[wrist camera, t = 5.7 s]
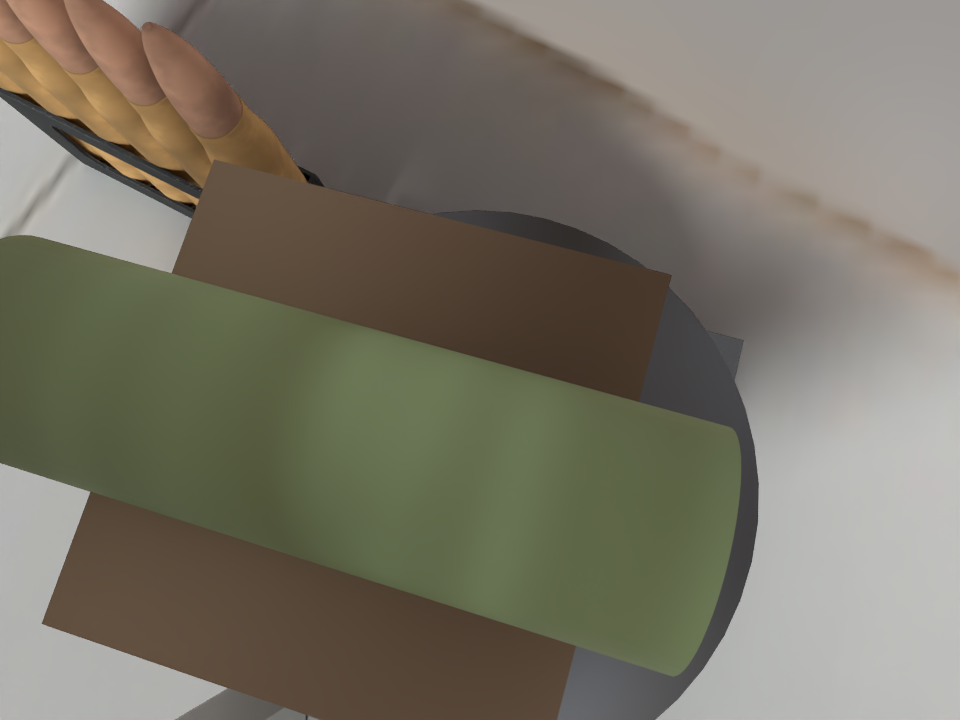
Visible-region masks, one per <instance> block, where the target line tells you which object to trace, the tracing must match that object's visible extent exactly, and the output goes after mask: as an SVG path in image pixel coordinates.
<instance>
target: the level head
mask: <svg viewBox="0 0 960 720" xmlns="http://www.w3.org/2000/svg"><path fill="white" fill-rule="evenodd" d="M670 279H671V275H669V274H665V273H661V272H657V271H653V270H649V269H647V268H645V267H644V266H643V265H642V264H640V263H639V262H638V261H636V260H634V259H633V258H631V257H630V256H628V255H626V254H625V253H623V252H622V251H620V250H618V249H617V248H615V247H614V246H612V245H610V244H609V243H606V242H604V241H602V240H600V239H598V238H596V237H593V236H591V235H589V234H587V233H585V232H583V231H580V230H578V229H575V228H572V227H569V226H566V225H563V224H560V223H557V222H553V221H550V220H547V219H544V218H538V217H533V216H527V215H522V214H516V213H511V212H496V211H478V210H474V211H459V212H444V213H437V214H428V213H424V212H420V211H416V210H412V209H408V208H404V207H400V206H396V205H392V204H388V203H385V202H381V201H377V200H373V199H369V198H365V197H361V196H357V195H353V194H349V193H345V192H341V191H337V190H333V189H329V188H325V187H321V186H317V185H313V184H309V183H305V182H301V181H298V180H294V179H290V178H286V177H282V176H278V175H274V174H270V173H266V172H262V171H258V170H254V169H250V168H246V167H242V166H238V165H234V164H230V163H226V162H222V161H218V160H214V161H213V163H212V166H211V169H210V172H209V174H208V177H207V180H206V182H205V185H204V188H203V190H202V193H201V196H200V198H199V201H198V204H197V207H196V209H195V212H194V215H193V217H192V220H191V223H190V225H189V228H188V231H187V233H186V236H185V239H184V242H183V244H182V247H181V250H180V252H179V255H178V258H177V260H176V263H175V266H174V269H173V271H172V274H171V273H168V272H164V271H160V270H157V269H153V268H149V267H146V266H142V265H139V264H135V263H131V262H128V261H124V260H120V259H117V258H113V257H109V256H106V255H102V254H99V253H95V252H91V251H88V250H84V249H80V248H77V247H73V246H69V245H66V244H62V243H59V242H55V241H51V240H48V239H44V238H40V237H35V236H28V235H18V236H10V237H5V238H2V239H0V463H2V464H5V465H8V466H11V467H15V468H18V469H21V470H24V471H27V472H30V473H33V474H37V475H40V476H43V477H46V478H49V479H52V480H55V481H59V482H62V483H65V484H68V485H71V486H74V487H77V488H81V489H84V490H87V491H90V495H89V498H88V500H87V503H86V506H85V508H84V511H83V514H82V516H81V519H80V522H79V525H78V527H77V530H76V533H75V535H74V538H73V541H72V543H71V546H70V549H69V551H68V554H67V557H66V560H65V562H64V565H63V568H62V570H61V573H60V576H59V578H58V581H57V584H56V587H55V589H54V592H53V595H52V597H51V600H50V603H49V605H48V608H47V611H46V613H45V616H44V619H43V622H42V624H44V625H47V626H49V627H52V628H55V629H58V630H61V631H64V632H67V633H70V634H73V635H76V636H78V637H81V638H84V639H87V640H90V641H93V642H96V643H99V644H102V645H105V646H107V647H110V648H113V649H116V650H119V651H122V652H125V653H128V654H131V655H134V656H137V657H139V658H142V659H145V660H148V661H151V662H154V663H157V664H160V665H163V666H166V667H168V668H171V669H174V670H177V671H180V672H183V673H186V674H189V675H192V676H195V677H197V678H200V679H203V680H206V681H209V682H212V683H215V684H218V685H221V686H224V687H226V688H229V689H232V690H235V691H238V692H241V693H244V694H247V695H250V696H253V697H256V698H258V699H261V700H264V701H267V702H270V703H273V704H276V705H279V706H282V707H285V708H287V709H290V710H293V711H296V712H299V713H302V714H305V715H308V716H311V717H314V718H316V719H319V720H655V719H656V718H657V717H659V716H660V715H661V714H662V713H663V712H664V711H665V710H666V709H667V708H669V707H670V706H671V705H672V704H673V703H674V702H675V701H676V700H677V699H678V698H679V697H680V696H681V695H682V693H683V692H684V691H685V690H686V689H687V688H688V686H689V685H690V684H691V683H692V682H693V680H694V679H695V678H696V677H697V676H698V674H699V673H700V672H701V671H702V670H703V668H704V667H705V665H706V664H707V662H708V660H709V659H710V657H711V656H712V654H713V652H714V651H715V649H716V648H717V646H718V644H719V643H720V641H721V640H722V638H723V637H724V635H725V633H726V630H727V628H728V626H729V624H730V621H731V619H732V617H733V615H734V613H735V610H736V608H737V606H738V604H739V602H740V599H741V596H742V593H743V589H744V586H745V583H746V579H747V576H748V572H749V569H750V566H751V562H752V557H753V550H754V544H755V537H756V531H757V524H758V488H759V483H758V474H757V465H756V456H755V447H754V443H753V438H752V434H751V430H750V426H749V422H748V418H747V414H746V410H745V407H744V405H743V402H742V399H741V397H740V394H739V392H738V389H737V387H736V384H735V381H734V379H733V376H732V374H731V372H730V370H729V368H728V367H727V365H726V363H725V361H724V359H723V357H722V356H721V354H720V352H719V350H718V348H717V346H716V345H715V343H714V341H713V340H712V338H711V337H710V336H709V334H708V333H707V331H706V330H705V329H704V327H703V326H702V325H701V323H700V322H699V320H698V319H697V318H696V316H695V315H694V314H693V312H692V311H691V310H690V309H689V308H688V307H687V306H686V305H685V304H684V303H683V302H682V301H681V299H680V298H679V297H678V296H677V295H676V294H675V293H674V292H673V291H672V290H671V289H670V288H669V283H670Z"/></svg>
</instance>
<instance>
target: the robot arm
mask: <svg viewBox="0 0 960 720" xmlns="http://www.w3.org/2000/svg"><path fill="white" fill-rule="evenodd" d="M175 720H319V719H316V718H314V717H311V716H308V715H305V714H302V713H299V712H296V711H293V710H290V709H287V708H285V707H282V706H279V705H276V704H273V703H270V702H267V701H264V700H261V699H258V698H256V697H253V696H250V695H247V694H244V693H241V692H238V691H235V690H232V689H229V688H227V689H226V690H224V691H222V692H221V693H219V694H217V695H216V696H214V697H212V698H211V699H209V700H207V701H206V702H204V703H202V704H201V705H199V706H197V707H195V708H194V709H192V710H190V711H189V712H187V713H185V714H184V715H182V716H180V717H179V718H177V719H175Z"/></svg>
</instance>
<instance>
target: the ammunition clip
mask: <svg viewBox="0 0 960 720" xmlns="http://www.w3.org/2000/svg"><path fill="white" fill-rule="evenodd" d="M0 97H1V98H2V99H3V100H5V101H6V102H7V103H8V104H10V105H11V106H12V107H13V108H15V109H16V110H17V111H18V112H20V113H21V114H22V115H23V116H25V117H26V118H27V119H28V120H30V121H31V122H32V123H33V124H35V125H36V126H37V127H38V128H40V129H41V130H42V131H43V132H45V133H46V134H47V135H48V136H50V137H51V138H52V139H53V140H55V141H56V142H57V143H59V144H60V145H61V146H62V147H64V148H65V149H66V150H67V151H69V152H70V153H71V154H72V155H74V156H75V157H76V158H77V159H79V160H80V161H81V162H82V163H84V164H86V165H88V166H90V167H92V168H94V169H96V170H98V171H100V172H102V173H104V174H106V175H108V176H110V177H112V178H114V179H116V180H118V181H119V182H121V183H123V184H125V185H127V186H129V187H131V188H133V189H135V190H137V191H139V192H141V193H143V194H145V195H147V196H149V197H151V198H153V199H155V200H157V201H159V202H161V203H163V204H165V205H167V206H169V207H171V208H173V209H174V210H176V211H178V212H180V213H182V214H184V215H186V216H188V217H190V218H192V217H193V215H194V212H195V209H196V207H197V204H198V201H199V198H200V196H201V193H202V190H203V188H204V185H205V182H206V180H207V177H208V174H209V172H210V169H211V166H212V163H213V161H214V160H218V161H222V162H226V163H230V164H234V165H238V166H242V167H246V168H250V169H254V170H258V171H262V172H266V173H270V174H274V175H278V176H282V177H286V178H290V179H294V180H298V181H301V182H305V183H309V184H313V185H317V186H321V187H324V185H323V184H322V182H321V181H320V180H319V178H318V177H317V176H316V175H315V174H313V173H311V172H309V171H307V170H305V169H303V168H301V167H299V166H297V165H296V164H295V162H294V161H293V159H292V158H291V156H290V155H289V154H288V152H287V151H286V149H285V148H284V146H283V145H282V143H281V142H280V140H279V139H278V137H277V136H276V135H275V133H274V132H273V131H272V129H271V128H270V127H269V126H268V125H267V124H266V123H265V122H264V121H263V120H262V119H261V118H259V117H258V116H257V115H256V114H254V113H253V112H252V111H250V109H249V108H248V107H247V106H246V104H245V103H244V102H243V101H242V99H241V98H240V97H239V96H238V95H237V94H236V93H235V92H234V91H233V90H232V88H231V87H230V86H229V84H228V83H227V82H226V80H225V79H224V78H223V76H222V75H221V74H220V73H219V72H218V71H217V70H216V69H215V68H214V67H213V66H212V65H211V64H210V63H209V61H208V60H207V59H206V58H205V57H204V56H203V55H202V54H201V53H200V52H199V51H197V50H196V49H195V48H194V47H193V46H192V45H190V44H189V43H188V42H187V41H185V40H184V39H182V38H181V37H180V36H178V35H177V34H175V33H174V32H172V31H170V30H168V29H167V28H164V27H162V26H160V25H157V24H155V23H151V22H147V23H145V24H144V25H143V26H142V30H141V31H140V30H139V29H138V28H137V27H136V26H135V25H133V24H132V23H131V22H130V21H129V20H128V19H127V18H126V17H125V16H123V15H122V14H121V13H120V12H118V11H117V10H116V9H114V8H113V7H112V6H110V5H109V4H107V3H106V2H104V1H103V0H0Z"/></svg>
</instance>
